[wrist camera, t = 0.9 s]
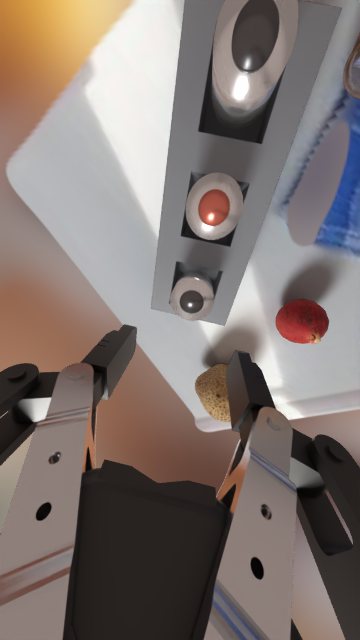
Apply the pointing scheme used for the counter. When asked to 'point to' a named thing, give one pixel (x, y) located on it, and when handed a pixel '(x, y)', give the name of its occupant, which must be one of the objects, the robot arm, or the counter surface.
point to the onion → (302, 321)
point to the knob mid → (214, 206)
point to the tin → (353, 72)
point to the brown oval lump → (214, 392)
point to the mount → (228, 152)
